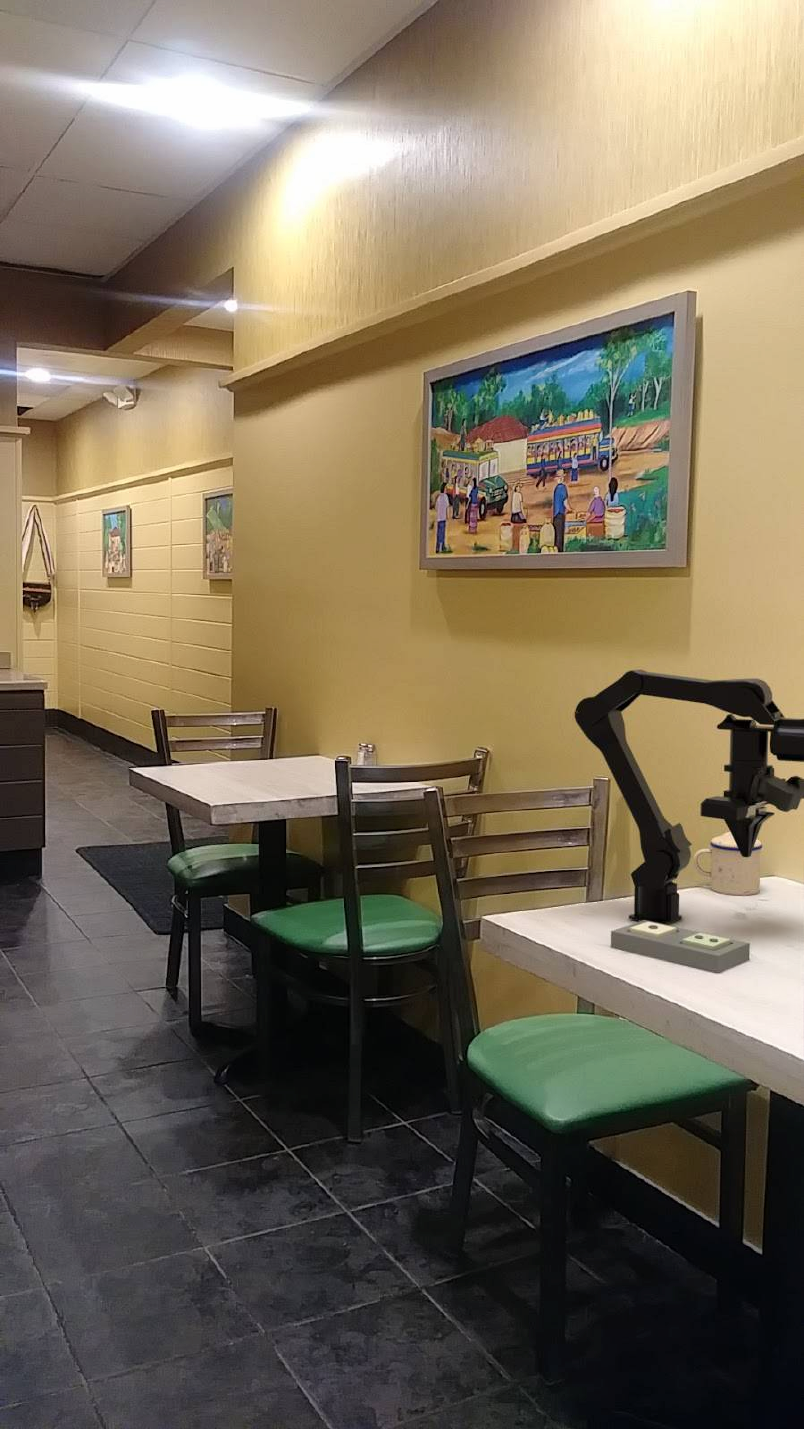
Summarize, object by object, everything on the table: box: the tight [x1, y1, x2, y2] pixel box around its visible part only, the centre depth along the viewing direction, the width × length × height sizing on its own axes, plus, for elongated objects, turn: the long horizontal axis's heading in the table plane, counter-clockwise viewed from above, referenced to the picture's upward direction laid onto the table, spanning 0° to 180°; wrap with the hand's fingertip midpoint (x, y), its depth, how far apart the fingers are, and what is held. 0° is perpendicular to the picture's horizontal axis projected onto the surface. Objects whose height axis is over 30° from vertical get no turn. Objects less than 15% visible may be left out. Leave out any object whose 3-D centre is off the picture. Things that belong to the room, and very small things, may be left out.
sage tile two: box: [682, 932, 732, 951], centre depth 169 cm, size 5×5×2 cm
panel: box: [610, 920, 751, 974], centre depth 172 cm, size 18×9×2 cm, turn 45°
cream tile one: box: [630, 922, 676, 939], centre depth 176 cm, size 5×5×2 cm
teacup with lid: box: [693, 831, 763, 896], centre depth 212 cm, size 12×9×12 cm
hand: (746, 856), depth 183 cm, fingers closed
